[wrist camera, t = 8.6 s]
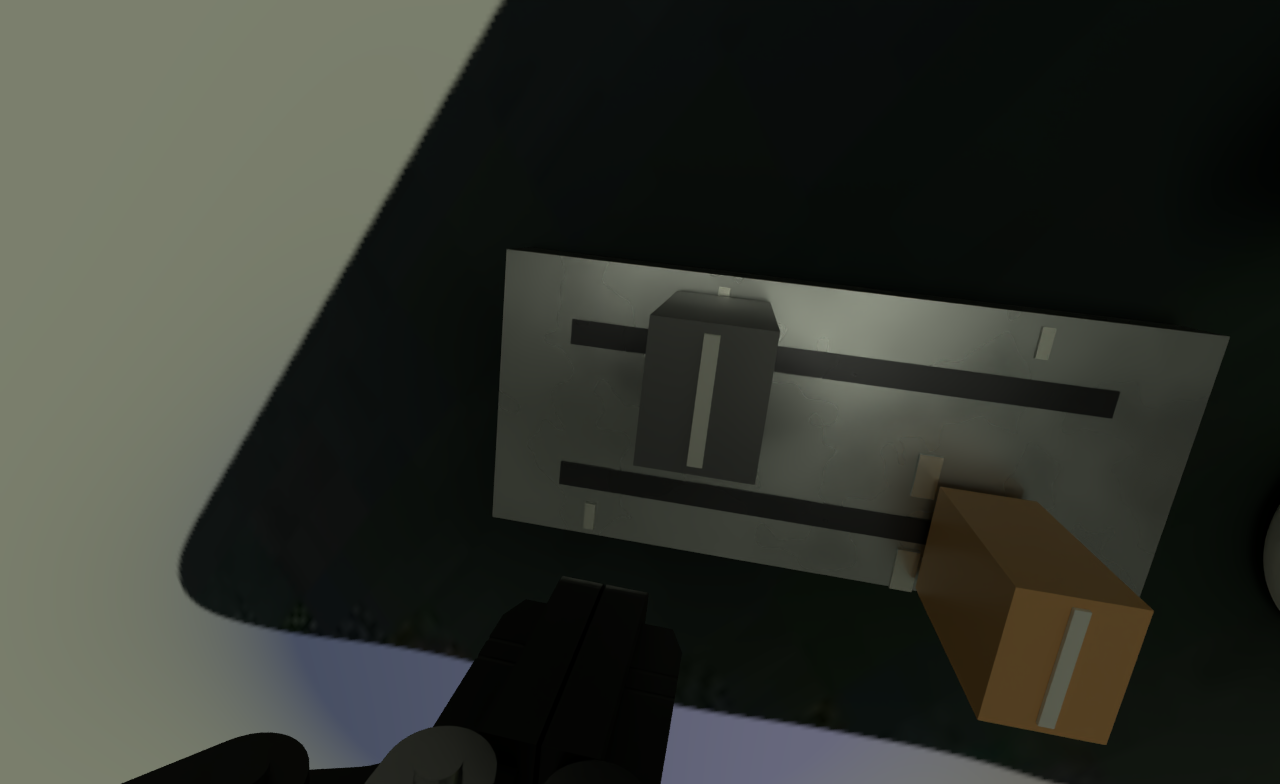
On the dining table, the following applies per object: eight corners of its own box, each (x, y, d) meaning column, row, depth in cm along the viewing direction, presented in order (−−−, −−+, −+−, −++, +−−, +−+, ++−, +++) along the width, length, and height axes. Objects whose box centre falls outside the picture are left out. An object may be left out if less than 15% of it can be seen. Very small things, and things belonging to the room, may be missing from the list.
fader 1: (677, 290, 17) (649, 315, 12) (770, 302, 17) (780, 332, 12) (663, 401, 18) (631, 467, 13) (752, 414, 17) (754, 487, 12)
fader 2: (939, 486, 17) (1018, 589, 12) (1036, 501, 17) (1157, 614, 12) (915, 587, 18) (979, 723, 13) (1007, 603, 17) (1108, 748, 13)
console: (530, 247, 20) (505, 249, 18) (1176, 325, 17) (1233, 337, 15) (514, 491, 22) (491, 518, 20) (1090, 588, 19) (1131, 630, 17)
